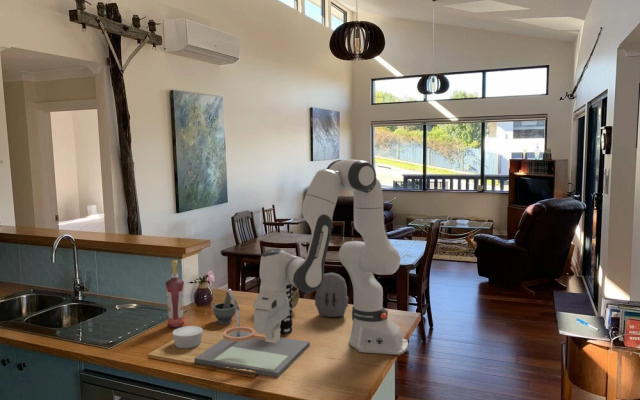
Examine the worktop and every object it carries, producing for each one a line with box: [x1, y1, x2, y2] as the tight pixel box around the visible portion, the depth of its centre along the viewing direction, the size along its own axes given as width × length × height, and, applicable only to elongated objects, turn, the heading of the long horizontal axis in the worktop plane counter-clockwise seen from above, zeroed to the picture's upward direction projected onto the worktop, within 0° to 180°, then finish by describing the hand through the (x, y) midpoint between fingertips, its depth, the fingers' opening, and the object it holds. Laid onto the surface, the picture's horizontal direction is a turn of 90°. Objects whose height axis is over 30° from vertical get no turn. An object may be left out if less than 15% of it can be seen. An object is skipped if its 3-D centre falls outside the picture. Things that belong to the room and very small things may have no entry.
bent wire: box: [227, 288, 241, 337], centre depth 181 cm, size 1×8×22 cm, turn 159°
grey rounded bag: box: [314, 272, 349, 318], centre depth 215 cm, size 15×8×20 cm, turn 81°
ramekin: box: [172, 325, 204, 349], centre depth 184 cm, size 11×11×5 cm
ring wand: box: [222, 326, 281, 343], centre depth 167 cm, size 20×11×4 cm, turn 70°
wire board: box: [194, 331, 311, 378], centre depth 176 cm, size 32×28×2 cm
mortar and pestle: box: [212, 291, 237, 325], centre depth 209 cm, size 11×9×12 cm
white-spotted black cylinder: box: [280, 284, 293, 336], centre depth 197 cm, size 8×8×20 cm
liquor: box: [165, 259, 185, 329], centre depth 202 cm, size 7×7×28 cm
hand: (273, 336), depth 164 cm, fingers closed on ring wand, 3 cm apart
